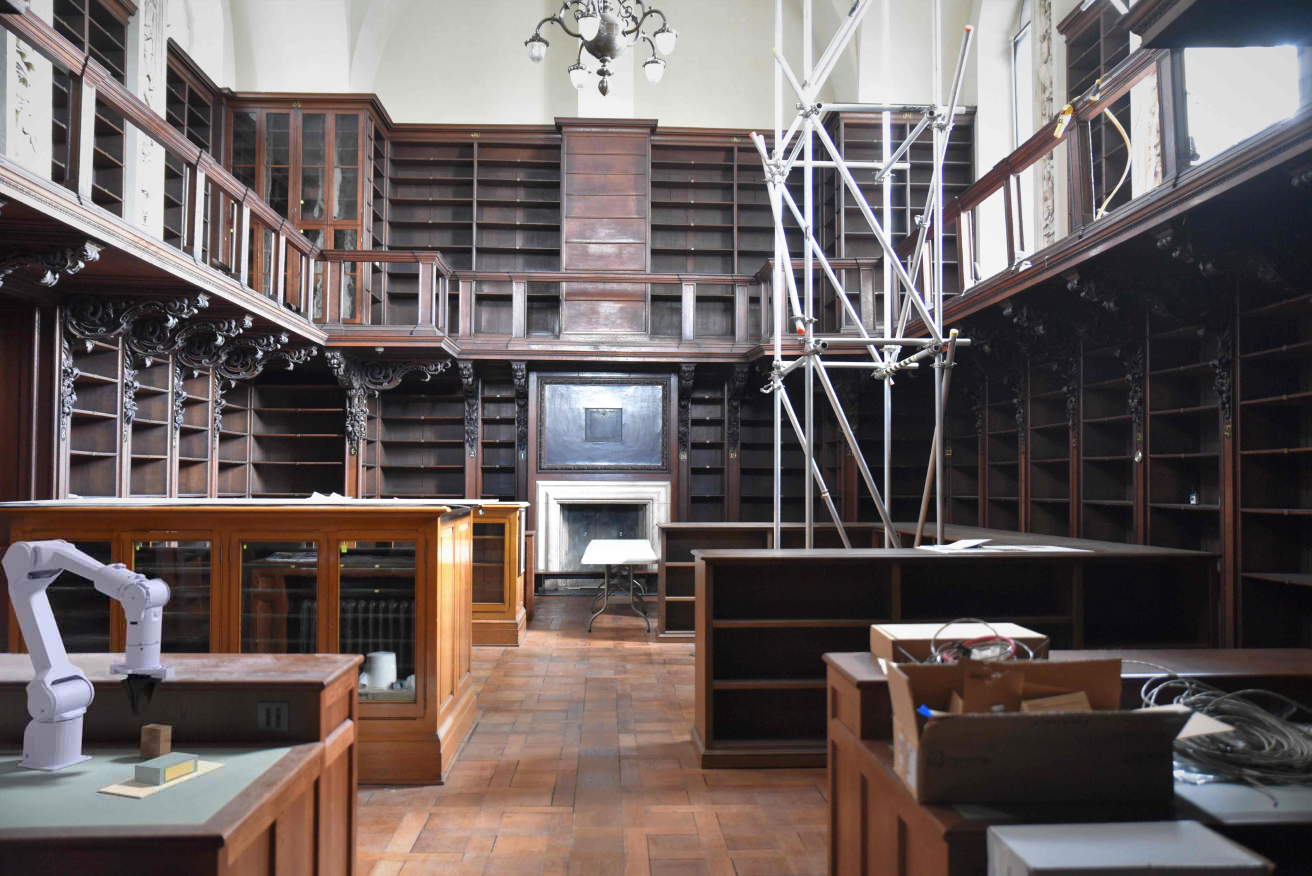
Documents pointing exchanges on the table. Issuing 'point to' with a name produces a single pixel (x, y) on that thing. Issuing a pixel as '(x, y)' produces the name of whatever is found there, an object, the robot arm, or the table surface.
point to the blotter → (144, 790)
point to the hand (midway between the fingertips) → (140, 714)
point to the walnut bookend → (155, 741)
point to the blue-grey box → (166, 768)
